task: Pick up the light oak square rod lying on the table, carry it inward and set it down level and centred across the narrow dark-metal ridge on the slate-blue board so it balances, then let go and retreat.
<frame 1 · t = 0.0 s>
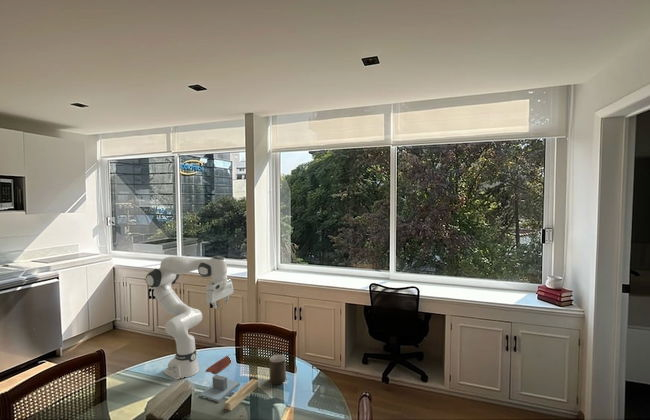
hand: (221, 305, 203), 48 cm above the table, tool pointing down, fingers open, 8 cm apart
oak rod: (242, 397, 192), on the table
ridge stand: (220, 390, 198), on the table
wooden tablet: (224, 363, 230), on the table
pillar candle: (278, 380, 208), on the table
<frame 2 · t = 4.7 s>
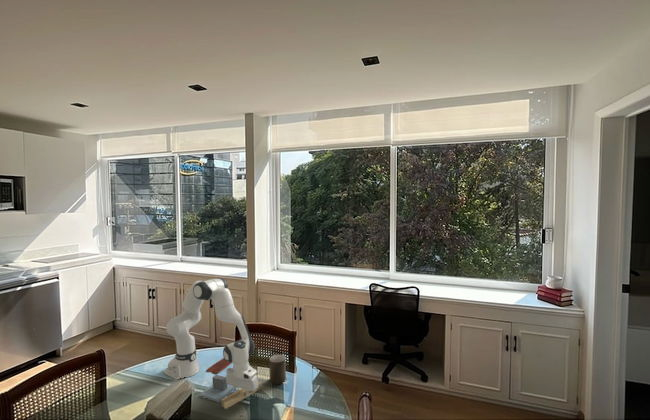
hand: (242, 394, 191), 2 cm above the table, tool pointing down, fingers closed on oak rod, 5 cm apart
oak rod: (242, 397, 192), on the table, touching gripper
everything else where it was.
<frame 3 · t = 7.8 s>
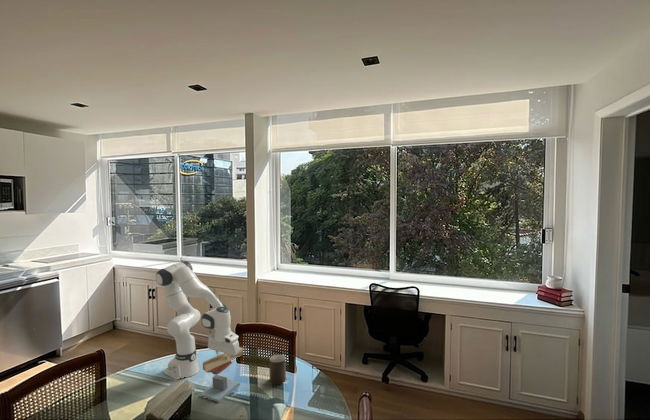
hand: (223, 358, 195), 20 cm above the table, tool pointing down, fingers closed on oak rod, 5 cm apart
oak rod: (223, 361, 196), point 18 cm above the table, touching gripper
everything else where it was.
when the fingers open (10 cm above the table, at t = 10.3 s): oak rod stays where it is, resting on ridge stand.
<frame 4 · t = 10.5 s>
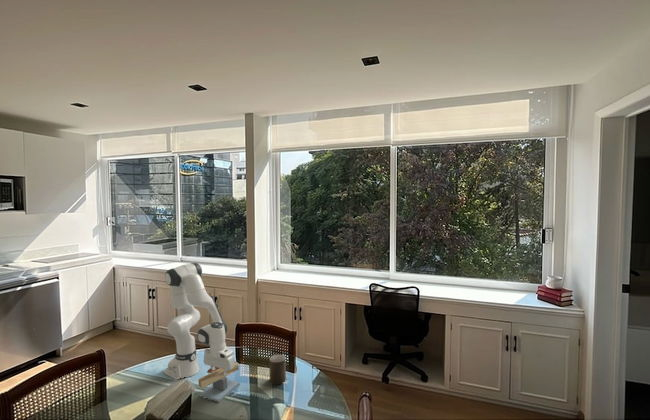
hand: (219, 373, 197), 10 cm above the table, tool pointing down, fingers open, 6 cm apart
oak rod: (219, 377, 198), point 8 cm above the table, touching ridge stand
everything else where it was.
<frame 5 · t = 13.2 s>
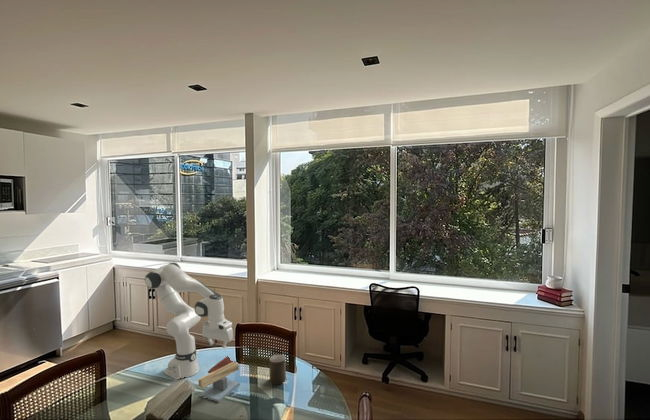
hand: (217, 346, 196), 27 cm above the table, tool pointing down, fingers open, 8 cm apart
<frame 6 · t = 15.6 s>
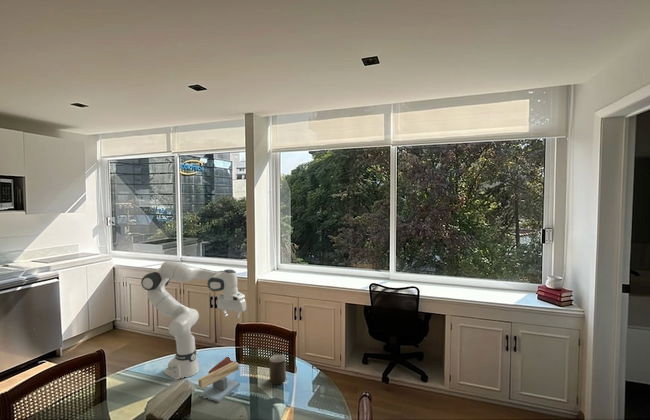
hand: (231, 316, 213), 37 cm above the table, tool pointing down, fingers open, 8 cm apart
at the end: oak rod 0.1 cm from the target spot, point 8.0 cm above the table; oak rod tilted 0°; oak rod touching ridge stand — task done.
